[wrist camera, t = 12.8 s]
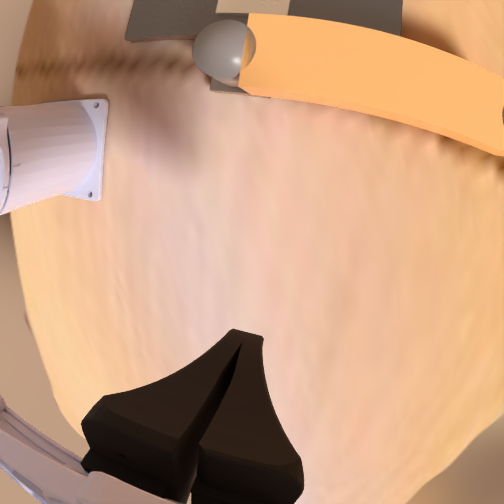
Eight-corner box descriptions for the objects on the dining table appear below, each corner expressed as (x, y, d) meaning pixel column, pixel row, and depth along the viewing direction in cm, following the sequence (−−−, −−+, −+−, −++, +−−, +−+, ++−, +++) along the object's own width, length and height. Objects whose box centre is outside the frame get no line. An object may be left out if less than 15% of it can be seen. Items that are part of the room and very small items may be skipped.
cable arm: (207, 91, 16) (186, 84, 13) (216, 31, 15) (198, 14, 12) (502, 158, 13) (528, 163, 11) (508, 98, 12) (534, 95, 9)
